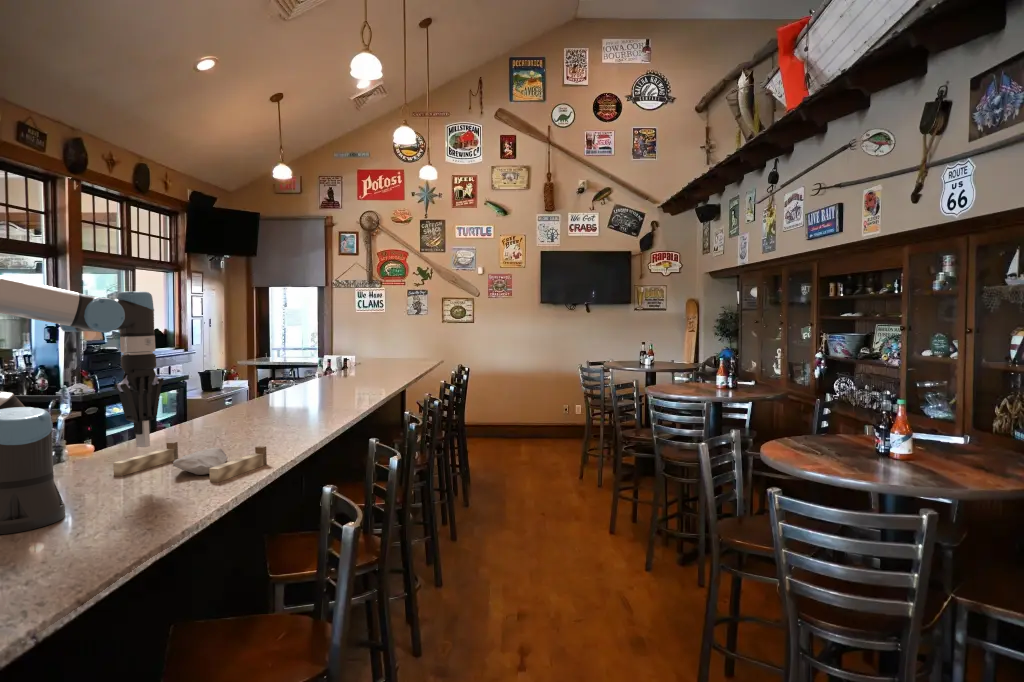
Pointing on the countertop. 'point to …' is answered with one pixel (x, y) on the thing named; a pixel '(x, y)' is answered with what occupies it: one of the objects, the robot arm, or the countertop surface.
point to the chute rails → (171, 454)
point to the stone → (201, 461)
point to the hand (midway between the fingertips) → (143, 446)
